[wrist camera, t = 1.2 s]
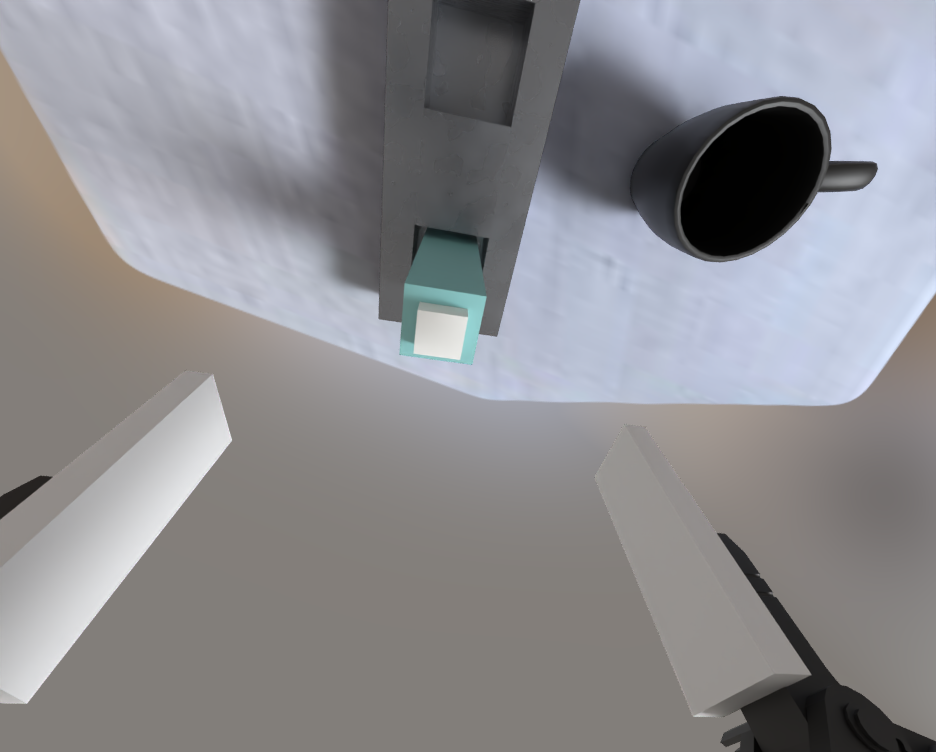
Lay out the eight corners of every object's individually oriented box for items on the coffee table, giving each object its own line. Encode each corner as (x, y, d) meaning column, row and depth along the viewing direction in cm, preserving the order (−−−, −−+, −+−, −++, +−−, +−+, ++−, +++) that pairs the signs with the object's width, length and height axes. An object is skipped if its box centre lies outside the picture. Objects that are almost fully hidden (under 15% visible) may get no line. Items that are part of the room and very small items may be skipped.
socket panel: (405, -57, 20) (391, -108, 16) (566, -13, 21) (592, -51, 17) (389, 296, 32) (378, 319, 28) (492, 312, 33) (497, 336, 29)
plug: (427, 225, 28) (401, 290, 15) (475, 234, 28) (487, 304, 16) (422, 274, 30) (396, 364, 18) (467, 281, 30) (472, 374, 18)
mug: (743, 227, 29) (847, 258, 21) (604, 233, 29) (656, 266, 22) (790, 106, 25) (945, 88, 17) (625, 113, 25) (701, 99, 17)
